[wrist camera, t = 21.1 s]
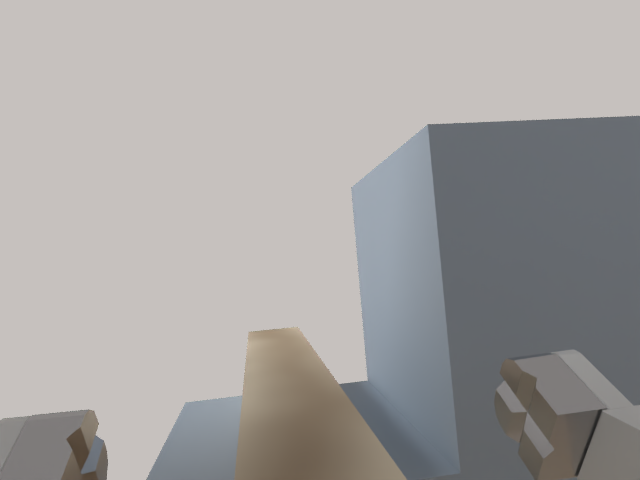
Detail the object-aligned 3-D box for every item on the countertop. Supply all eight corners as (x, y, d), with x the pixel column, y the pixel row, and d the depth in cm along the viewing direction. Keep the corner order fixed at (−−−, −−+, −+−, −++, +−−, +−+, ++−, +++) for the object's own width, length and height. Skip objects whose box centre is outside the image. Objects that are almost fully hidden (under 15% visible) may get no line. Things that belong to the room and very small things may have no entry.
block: (243, 758, 7) (228, 540, 7) (252, 381, 28) (248, 331, 28) (446, 713, 7) (427, 507, 7) (301, 375, 29) (297, 327, 29)
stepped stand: (157, 1105, 12) (99, 137, 14) (205, 695, 24) (171, 198, 25) (741, 914, 15) (648, 115, 16) (526, 628, 27) (481, 179, 28)
